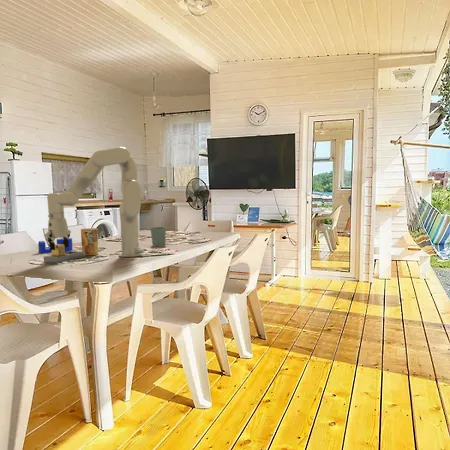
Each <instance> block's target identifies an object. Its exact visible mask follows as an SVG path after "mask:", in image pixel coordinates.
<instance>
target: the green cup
mask: <svg viewBox="0 0 450 450" xmlns="http://www.w3.org/2000/svg"><path fill="white" fill-rule="evenodd" d="M166 231H167V227H165V226H156V227H151V228H150V234H151V242H152V244H151V245H152V247H164V246H166V245H167V243H166V242H167V241H166V237H167V235H166Z"/></svg>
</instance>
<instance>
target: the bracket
mask: <svg viewBox="0 0 450 450" xmlns="http://www.w3.org/2000/svg"><path fill="white" fill-rule="evenodd" d="M63 240H64V239H63V238H56V244H63ZM68 243H69V247H64V248H65V252H69V251H71V250H72V251H74V249H73V238H71V237H69V240H68ZM37 247H38V254H42V255H43V254H44V255H45V254H52V250H50V248H49V247H46V242H45V240H39V241H38V245H37Z"/></svg>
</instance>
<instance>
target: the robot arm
mask: <svg viewBox="0 0 450 450" xmlns="http://www.w3.org/2000/svg"><path fill="white" fill-rule="evenodd" d="M113 165H118V166H119V167H120V171H121V185H120V191H121V194H122V201H121V203H120V205H119V209H118V212H119V219H120V243H121V252H120V253H119V254H118V257H121V258H123V257H124V258H133V257H140V256H142V255H143V253H144V252H145V249H141V246H139V245H140V244H139V220H138V219H139V218H138V215H139V213H140V212H141V205H142V202H141V201H142V199H141V198H142V191H141V190H142V187H141V184H140V183H139V182H138V167H137V163H136V162H135V160H134V158H133V156H131V152H130V151H129V149H128V148H126V147H124V146H119V147H113V148H108V149H103V150H102V149H101V150H96V151H94V153H93V154H92V155H91V156H90V158H89V159H88V161H87V162H86V163H85V165H83V167H82V168H81V170H80V171H79V172H78V174H77V176H76V178H75V179H74V181H73V182H72V184H71V185H70V186H69V188H68V189H67V191H66V192H50V193H48V194H47V195H46V198H47V209H48V215H47V217H48V221H47V232H46V233H45V234H44V237H45V240H46V242H48V248H50V250H55V245H56V243H55V240H56V239H61V238H63V239H64V240H63V244H64V247H69V243H68V240H69V238H71V237H70V236H71V233H72V230H70V229H69V228H68V227H69V226H68V222H67V219H66V217H65V207H64V206H66V207H74V206H75V205H77V204H78V202H79V199H80V198H81V197H82V196H83V194H84V193H85V191H87V189H88V188H89V187H90V186H91V185H92V184H93V183H94V181H95V180H96V179H97V177H98V176H99V175H100V173H101V172H102V170H103V169H104V168H105V167H107V166H113Z"/></svg>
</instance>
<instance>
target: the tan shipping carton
mask: <svg viewBox="0 0 450 450" xmlns="http://www.w3.org/2000/svg"><path fill="white" fill-rule="evenodd" d="M51 255H52V256H63V255H65V248H64V244H57V243H55V250H52V253H51Z"/></svg>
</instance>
